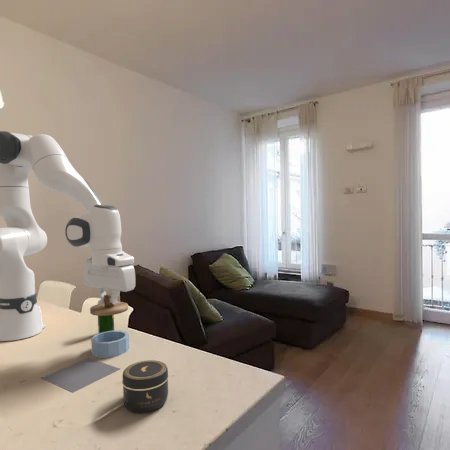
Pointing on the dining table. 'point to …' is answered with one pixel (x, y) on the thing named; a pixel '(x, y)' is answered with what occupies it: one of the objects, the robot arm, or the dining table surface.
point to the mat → (80, 374)
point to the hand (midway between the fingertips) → (109, 302)
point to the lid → (108, 307)
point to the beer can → (105, 322)
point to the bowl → (109, 344)
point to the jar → (145, 386)
